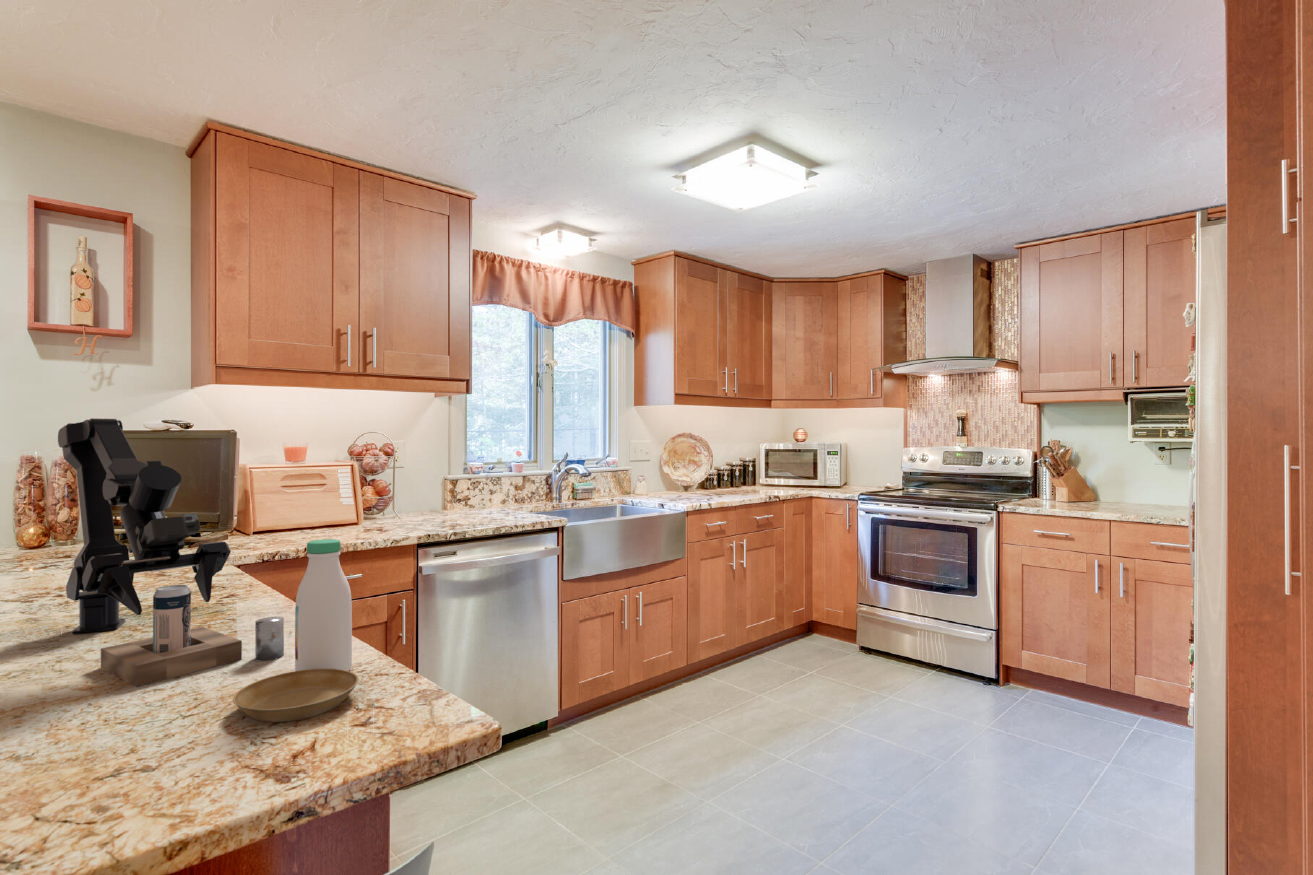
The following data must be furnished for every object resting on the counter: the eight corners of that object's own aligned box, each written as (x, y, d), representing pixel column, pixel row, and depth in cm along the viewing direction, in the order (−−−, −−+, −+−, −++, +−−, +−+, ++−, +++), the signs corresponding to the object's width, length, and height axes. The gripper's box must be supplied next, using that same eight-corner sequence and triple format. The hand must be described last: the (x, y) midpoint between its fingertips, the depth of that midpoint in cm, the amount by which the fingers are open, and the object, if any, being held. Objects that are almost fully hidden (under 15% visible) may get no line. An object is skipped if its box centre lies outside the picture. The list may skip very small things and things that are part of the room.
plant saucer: (211, 712, 86) (211, 692, 86) (322, 678, 98) (322, 660, 98) (267, 741, 78) (267, 719, 78) (380, 700, 90) (380, 681, 90)
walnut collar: (100, 667, 102) (100, 648, 102) (202, 644, 114) (202, 626, 114) (136, 686, 95) (136, 665, 95) (241, 659, 106) (241, 640, 106)
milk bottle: (363, 666, 103) (363, 538, 103) (323, 684, 95) (323, 546, 95) (324, 661, 105) (324, 535, 105) (282, 677, 98) (282, 543, 98)
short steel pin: (256, 654, 108) (256, 618, 108) (284, 651, 110) (284, 615, 110) (254, 662, 105) (254, 624, 105) (283, 658, 107) (282, 621, 107)
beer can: (195, 661, 105) (195, 586, 105) (159, 670, 101) (160, 592, 101) (183, 656, 108) (183, 582, 108) (148, 664, 104) (148, 588, 104)
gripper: (88, 503, 99) (114, 586, 93) (225, 494, 114) (256, 565, 108) (71, 550, 103) (95, 632, 97) (206, 535, 119) (234, 606, 113)
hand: (175, 606), depth 104 cm, fingers open, 9 cm apart
